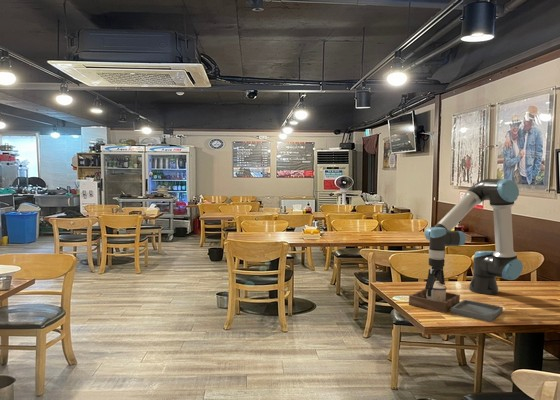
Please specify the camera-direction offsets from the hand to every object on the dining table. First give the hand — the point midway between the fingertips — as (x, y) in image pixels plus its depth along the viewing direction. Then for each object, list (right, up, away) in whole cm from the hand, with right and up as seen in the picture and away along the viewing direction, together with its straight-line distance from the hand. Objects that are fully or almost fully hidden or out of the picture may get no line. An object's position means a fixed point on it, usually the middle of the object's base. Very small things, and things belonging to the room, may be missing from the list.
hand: (434, 299), depth 217 cm
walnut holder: (0, -2, 0) cm, 2 cm away
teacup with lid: (0, -3, 0) cm, 2 cm away
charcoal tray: (+16, -3, -12) cm, 20 cm away
